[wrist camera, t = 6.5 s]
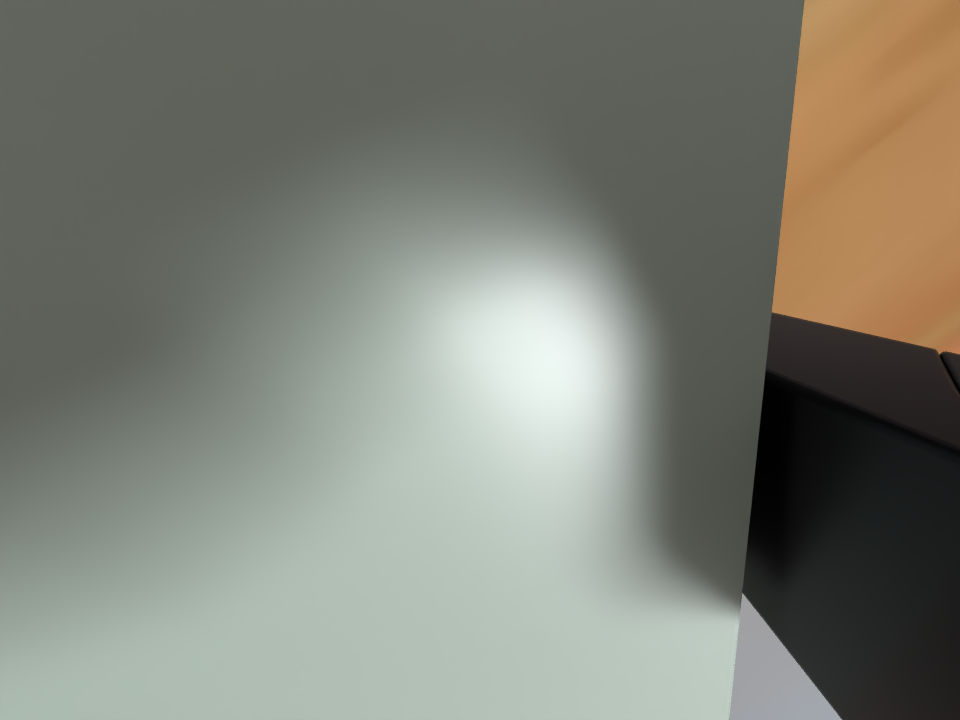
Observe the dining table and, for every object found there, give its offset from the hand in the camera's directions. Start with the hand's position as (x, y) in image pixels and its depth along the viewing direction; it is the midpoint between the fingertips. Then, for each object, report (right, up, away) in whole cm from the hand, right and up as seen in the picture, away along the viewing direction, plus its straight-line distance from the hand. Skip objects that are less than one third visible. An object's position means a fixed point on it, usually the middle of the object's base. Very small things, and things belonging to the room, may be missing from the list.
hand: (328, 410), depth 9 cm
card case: (0, +1, +1) cm, 1 cm away
